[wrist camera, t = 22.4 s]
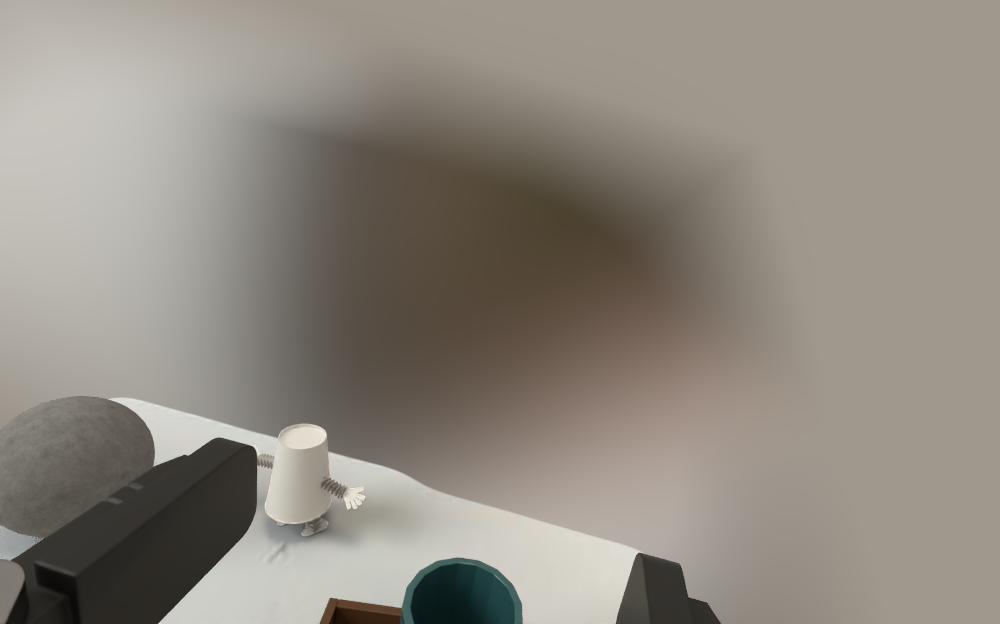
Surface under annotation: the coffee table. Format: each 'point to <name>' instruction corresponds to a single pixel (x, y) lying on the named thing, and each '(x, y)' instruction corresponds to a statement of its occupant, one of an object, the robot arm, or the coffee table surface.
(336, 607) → the tray
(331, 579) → the coffee table surface
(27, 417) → the decorative ball
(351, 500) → the toy figure
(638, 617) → the robot arm
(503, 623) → the tumbler
